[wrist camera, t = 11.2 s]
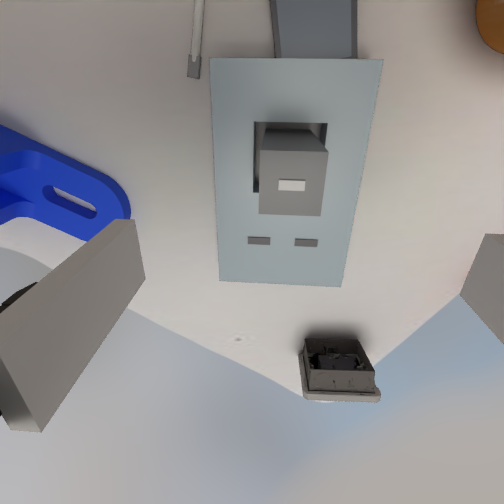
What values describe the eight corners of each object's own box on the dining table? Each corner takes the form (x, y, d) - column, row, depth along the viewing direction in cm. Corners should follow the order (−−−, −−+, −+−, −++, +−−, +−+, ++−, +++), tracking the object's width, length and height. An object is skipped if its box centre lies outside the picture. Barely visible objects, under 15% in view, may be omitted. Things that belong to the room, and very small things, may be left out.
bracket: (-24, 181, 36) (-108, 208, 28) (-21, 113, 32) (-117, 122, 24) (121, 246, 39) (82, 286, 31) (139, 190, 35) (100, 220, 27)
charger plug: (264, 173, 33) (258, 215, 22) (265, 128, 31) (259, 150, 20) (306, 174, 32) (320, 217, 22) (310, 129, 30) (329, 152, 20)
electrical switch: (297, 356, 46) (302, 410, 37) (298, 328, 44) (304, 378, 35) (360, 358, 45) (380, 413, 37) (364, 330, 43) (386, 380, 35)
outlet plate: (224, 263, 39) (219, 281, 35) (217, 61, 28) (208, 57, 25) (335, 268, 38) (341, 288, 34) (369, 62, 28) (384, 59, 24)
